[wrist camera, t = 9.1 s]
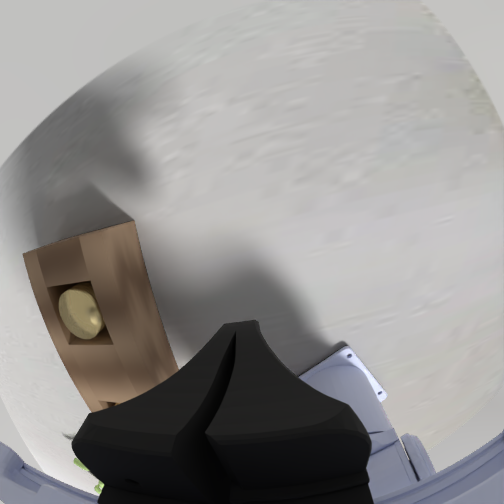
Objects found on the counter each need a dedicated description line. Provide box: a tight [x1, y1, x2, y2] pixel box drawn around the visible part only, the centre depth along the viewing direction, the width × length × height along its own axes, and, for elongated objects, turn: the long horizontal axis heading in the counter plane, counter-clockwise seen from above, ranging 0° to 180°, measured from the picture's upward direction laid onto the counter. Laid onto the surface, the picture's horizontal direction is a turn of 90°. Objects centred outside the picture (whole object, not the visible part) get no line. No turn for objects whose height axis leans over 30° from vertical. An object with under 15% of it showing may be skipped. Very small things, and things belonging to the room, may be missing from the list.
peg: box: [59, 280, 106, 339], centre depth 19 cm, size 4×4×5 cm
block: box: [23, 221, 179, 412], centre depth 20 cm, size 22×9×5 cm, turn 10°
